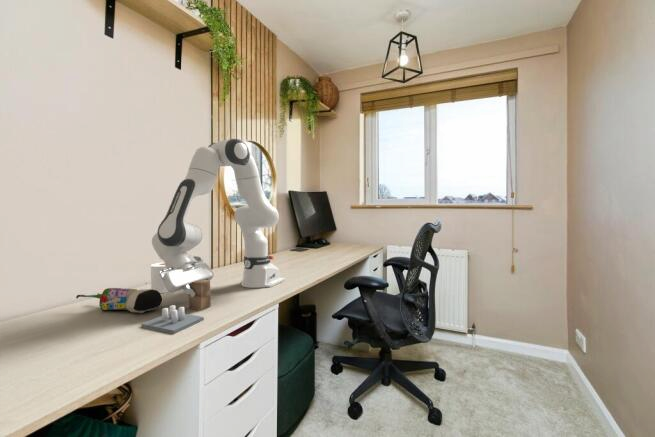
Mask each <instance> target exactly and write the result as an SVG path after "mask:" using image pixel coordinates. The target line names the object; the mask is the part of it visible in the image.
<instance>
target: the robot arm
mask: <svg viewBox="0 0 655 437" xmlns="http://www.w3.org/2000/svg"><path fill="white" fill-rule="evenodd" d="M221 167H231V168H232V170H233V171H234V172H233V174H234V178H235V182H236V186H237V191H238V195H239V197H240V198H241V199H242V200H244V201H245V202H246V205H242V206H239V207H237V208H236V209H235V211H234V214H233V217H234V221H235V223H236V224H238V226H239V228H240V231H241V233H242V236H243V241H244V255H243V264H244V267H243V274H242V275H243V276H242V279H241V280H242V281H241V286H242V287H245V288H248V289H249V288H250V289H257V288H258V289H259V288H272V287H273V286H276V285H278V284H280V283H282V282H285V280H286V279H285V277H283V276H281V271H280V269H279V267H278V266H276V265H275V264H274V263H272V262H271V260H274V258H275V257H274V255H271V254H270V255H269V254H268V253H269V246H268V244H269V241H268V239H267V237H266V236H265V235H264V233H263V231H262V229H269V228H273V227H275V226H276V225H277V224H278V222H279V219H280V214H279V211H278V210H277V208H276V207H275V206H273V205H272V203H270V201H269V200H268V198H267V197H266V194H265V192H264V190H263V186H262V182H261V181H262V180H261V178H260V173H259V169H258V166H257V163H256V161H255V157H254V156H253V155H252V154H251V153H250V150H249V148H248V145H247V144H246V142H244V141H243V140H242V139H239V138H231V139H222V140H220V141H217V142H213V143H211V144H209V145H208V146H201V147H198V148H197V149H196V151H195V152H194V154H193V156H192V157H191V160H190V164H189V167H188V170H187V173H186V176H185V178H184V179H183V180H181V182H180V183H179V185H178V186H177V189H176V190H175V193H174V196H173V197H172V200H171V202H170V205H169V208H168V210H167V212H166V215H165V217H164V218H163V219H162V221H161V222H160V223H159V225H158V228H157V231H156V233H155V234H154V235H153V237H152V238H151V244H152V248H153V250H154V251H155V253H156V254H157V256H158V257H159V259H160V260H162V261H163V262H164V263H165V266H166V267H167V269H164V270H161V272H160V274H159V275H160V277H161V278H162V280H163V283H164V285H165V287H166V289H167V290H168V291H169V292H168V293H170V294H171V293H172V294H173V293H175V292H176V293H177V292H179V291H181V290H183V292H185V293H187V294H188V295H189V294H190V295H191V297H194V296H196V295H197V292H196V291H195V290H192V289H191V288H189V287H190V286H189V284H191V283H192V282H194V281H197V280H200V279H201V280H209V281H210V282H211V280H212V279H213V278H214V273H215V272H214V271H213V270H212V268H211V267H210V266H209V265H208V263H206V262H204V258H203V257H202V256H199V255H197V256H196V255H191V254H189V253H188V252H189V251H190V250H192V249H194V248H195V247H197V246H198V245H199V244H200V243H201V242H202V239H203V232H202V229H201V228H200V227H199V226H197V224H193V223H190V222H186V220H185V218H186V216H187V213H188V211H189V207H190V205H191V203H192V201H193V199H195V198H196V197H198V196H203V195H206V194H209V193H210V192H212V191H213V189H214V187H215V185H216V182H217V179H218V173H219V169H220V168H221Z"/></svg>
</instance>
